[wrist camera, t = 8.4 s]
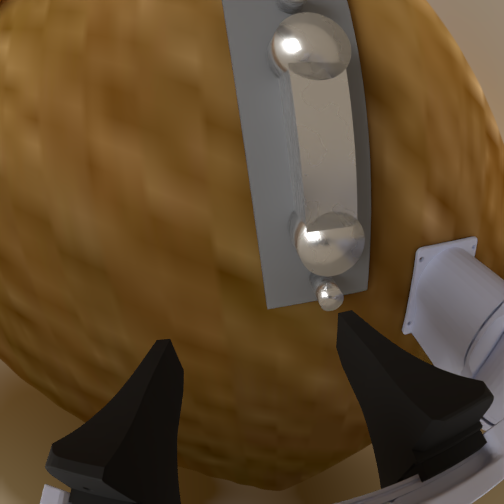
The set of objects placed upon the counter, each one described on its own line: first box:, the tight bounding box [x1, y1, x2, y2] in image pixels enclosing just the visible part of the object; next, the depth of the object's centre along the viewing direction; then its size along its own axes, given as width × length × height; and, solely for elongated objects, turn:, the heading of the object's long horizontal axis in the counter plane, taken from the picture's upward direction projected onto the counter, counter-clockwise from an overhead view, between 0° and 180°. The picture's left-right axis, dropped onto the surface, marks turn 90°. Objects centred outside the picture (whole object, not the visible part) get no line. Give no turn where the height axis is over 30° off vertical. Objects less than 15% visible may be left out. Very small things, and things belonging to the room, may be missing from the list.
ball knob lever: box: [266, 12, 365, 276], centre depth 15 cm, size 15×4×3 cm, turn 8°
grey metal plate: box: [222, 0, 371, 311], centre depth 15 cm, size 23×8×4 cm, turn 8°
